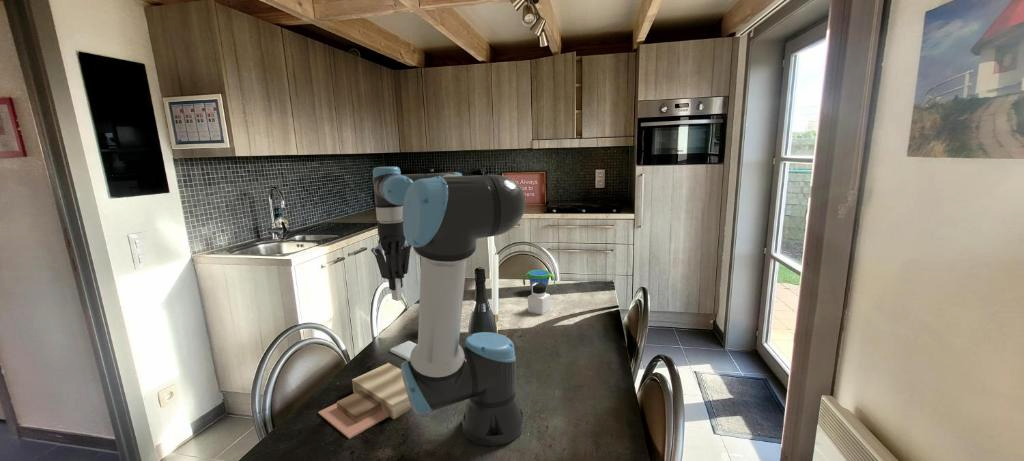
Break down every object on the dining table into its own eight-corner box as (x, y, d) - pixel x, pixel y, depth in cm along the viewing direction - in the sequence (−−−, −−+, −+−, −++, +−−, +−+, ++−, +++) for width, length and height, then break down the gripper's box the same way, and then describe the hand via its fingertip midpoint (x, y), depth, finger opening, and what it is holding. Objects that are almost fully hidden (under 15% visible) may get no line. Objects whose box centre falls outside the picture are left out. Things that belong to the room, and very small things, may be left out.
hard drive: (389, 348, 142) (411, 359, 134) (409, 340, 148) (431, 349, 140) (390, 353, 142) (411, 363, 134) (409, 344, 148) (431, 354, 140)
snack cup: (557, 290, 201) (557, 270, 199) (552, 297, 191) (551, 276, 189) (527, 287, 206) (526, 268, 204) (520, 294, 196) (520, 274, 195)
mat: (389, 416, 106) (389, 414, 106) (349, 439, 98) (349, 437, 98) (357, 394, 116) (356, 393, 116) (318, 413, 108) (318, 411, 108)
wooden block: (381, 410, 108) (380, 403, 108) (356, 423, 103) (355, 416, 103) (361, 396, 115) (360, 390, 114) (337, 408, 109) (336, 401, 109)
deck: (430, 397, 114) (429, 384, 113) (393, 419, 105) (392, 405, 104) (389, 374, 127) (388, 362, 126) (353, 392, 118) (352, 379, 117)
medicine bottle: (550, 309, 176) (550, 282, 174) (542, 315, 170) (542, 287, 168) (536, 306, 180) (535, 280, 178) (527, 312, 174) (527, 285, 172)
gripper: (401, 217, 124) (406, 291, 129) (362, 223, 114) (370, 303, 119) (417, 218, 120) (422, 295, 124) (378, 225, 110) (385, 308, 114)
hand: (397, 299), depth 121 cm, fingers closed
